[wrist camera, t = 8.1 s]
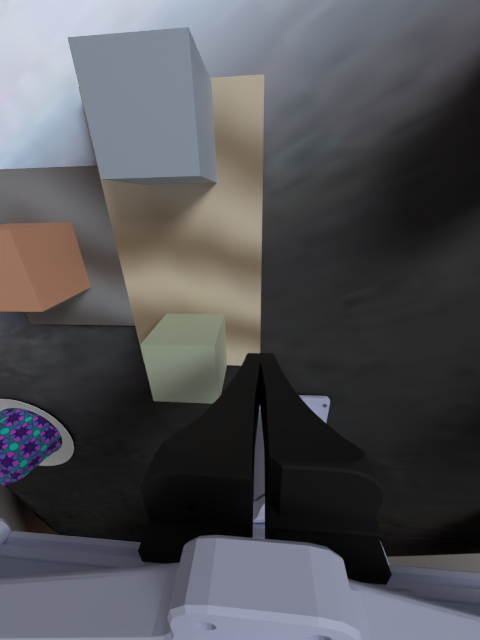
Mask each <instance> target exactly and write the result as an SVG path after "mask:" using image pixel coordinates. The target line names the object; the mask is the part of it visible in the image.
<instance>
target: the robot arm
mask: <svg viewBox="0 0 480 640" xmlns="http://www.w3.org/2000/svg"><path fill="white" fill-rule="evenodd" d="M323 404H325V405H323ZM329 405H330V400H329V398H328V397H327V396H310V395H298V394H297V392H296V391H295V390H294V388H293V387H292V386H291V384H290V383H289V381H288V380H287V378H286V376H285V375H284V373H283V372H282V370H281V368H280V366H279V364H278V362H277V360H276V357H275V355H274V354H271V353H248V354H247V355H246V357H245V360H244V362H243V364H242V366H241V367H240V369H239V371H238V372H237V374H236V376H235V377H234V379H233V380H232V381H231V383H230V384H229V386H228V387H227V388H226V389H225V391H224V392H223V393H222V394H221V395H220V397H219V398H218V399H217V400H216V401H215V402H214V403H213V404H212V405H211V406H210V407H209V408H208V409H207V410H206V411H205V412H204V413H203V414H201V415H200V416H199V417H198V418H196V419H195V420H194V421H193V422H191V423H190V424H189V425H188V426H186V427H185V428H184V429H182V430H181V431H179V432H178V433H176V434H174V435H173V436H171V437H170V438H168V439H167V440H165V441H163V442H162V444H161V446H160V447H159V449H158V451H157V452H156V454H155V456H154V458H153V460H152V462H151V464H150V466H149V468H148V471H147V473H146V476H145V478H144V480H143V483H142V486H141V489H140V490H141V497H142V500H143V503H144V506H145V509H146V512H147V515H148V518H149V521H148V524H147V526H146V529H145V532H144V535H143V538H142V541H141V542H130V541H119V540H108V539H96V538H85V537H74V536H63V535H51V534H40V533H29V532H18V531H12V530H11V527H10V526H9V524H8V523H7V522H6V521H5V520H4V519H2V518H0V640H480V573H477V572H467V571H455V570H444V569H433V568H422V567H410V566H399V565H389V563H388V560H387V557H386V554H385V552H384V549H383V546H382V544H381V542H380V539H381V537H382V535H381V531H380V528H379V525H378V523H377V520H376V519H377V517H378V514H379V512H380V509H381V507H382V504H383V502H384V497H385V492H384V489H383V486H382V483H381V481H380V479H379V477H378V474H377V472H376V471H375V469H374V467H373V465H372V464H371V462H370V460H369V458H368V457H367V455H366V453H365V452H364V451H362V450H361V449H360V448H358V447H357V446H355V445H354V444H352V443H351V442H349V441H348V440H346V439H345V438H344V437H342V436H341V435H340V434H338V433H337V432H336V431H335V430H333V429H332V428H331V427H329V426H328V425H327V424H326V421H327V416H328V410H329Z"/></svg>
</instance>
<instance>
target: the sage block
mask: <svg viewBox="0 0 480 640" xmlns="http://www.w3.org/2000/svg"><path fill="white" fill-rule="evenodd" d="M141 350H142V354H143V358H144V362H145V367H146V371H147V375H148V379H149V384H150V388H151V392H152V396H153V400H154V401H164V402H188V403H214V402H215V401H216V400H217V399H218V398H219V397H220V395H221V392H222V387H223V382H224V377H225V372H226V367H227V349H226V331H225V314H166V315H165V316H164V317H163V318H162V319H161V321H160V322H159V323H158V324H157V325H156V327H155V328H154V329H153V330H152V331H151V333H150V334H149V335H148V336H147V337H146V339H145V340H144V341H143V342H142V343H141Z"/></svg>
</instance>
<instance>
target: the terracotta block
mask: <svg viewBox="0 0 480 640" xmlns="http://www.w3.org/2000/svg"><path fill="white" fill-rule="evenodd" d="M90 287H91V285H90V282H89V279H88V276H87V272H86V269H85V266H84V262H83V259H82V256H81V252H80V249H79V246H78V242H77V239H76V236H75V233H74V229H73V226H72V223H71V222H62V223H9V224H0V311H15V312H43V311H45V310H47V309H49V308H51V307H53V306H55V305H57V304H59V303H61V302H63V301H65V300H67V299H69V298H71V297H73V296H75V295H77V294H79V293H81V292H82V291H84V290H86V289H88V288H90Z"/></svg>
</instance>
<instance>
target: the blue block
mask: <svg viewBox="0 0 480 640" xmlns="http://www.w3.org/2000/svg"><path fill="white" fill-rule="evenodd" d="M68 41H69V45H70V50H71V54H72V58H73V62H74V66H75V71H76V75H77V79H78V83H79V88H80V92H81V96H82V100H83V104H84V109H85V113H86V117H87V121H88V126H89V130H90V134H91V138H92V143H93V147H94V151H95V155H96V159H97V164H98V168H99V172H100V176H101V179H103V180H111V181H118V182H126V183H134V184H141V185H157V184H188V183H217V170H216V152H215V134H214V117H213V99H212V82H211V80H210V78H209V75H208V73H207V70H206V68H205V66H204V63H203V61H202V59H201V56H200V54H199V51H198V49H197V47H196V44H195V42H194V40H193V37H192V35H191V32H190V30H189V28H176V29H163V30H151V31H139V32H127V33H115V34H103V35H91V36H79V37H68Z"/></svg>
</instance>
